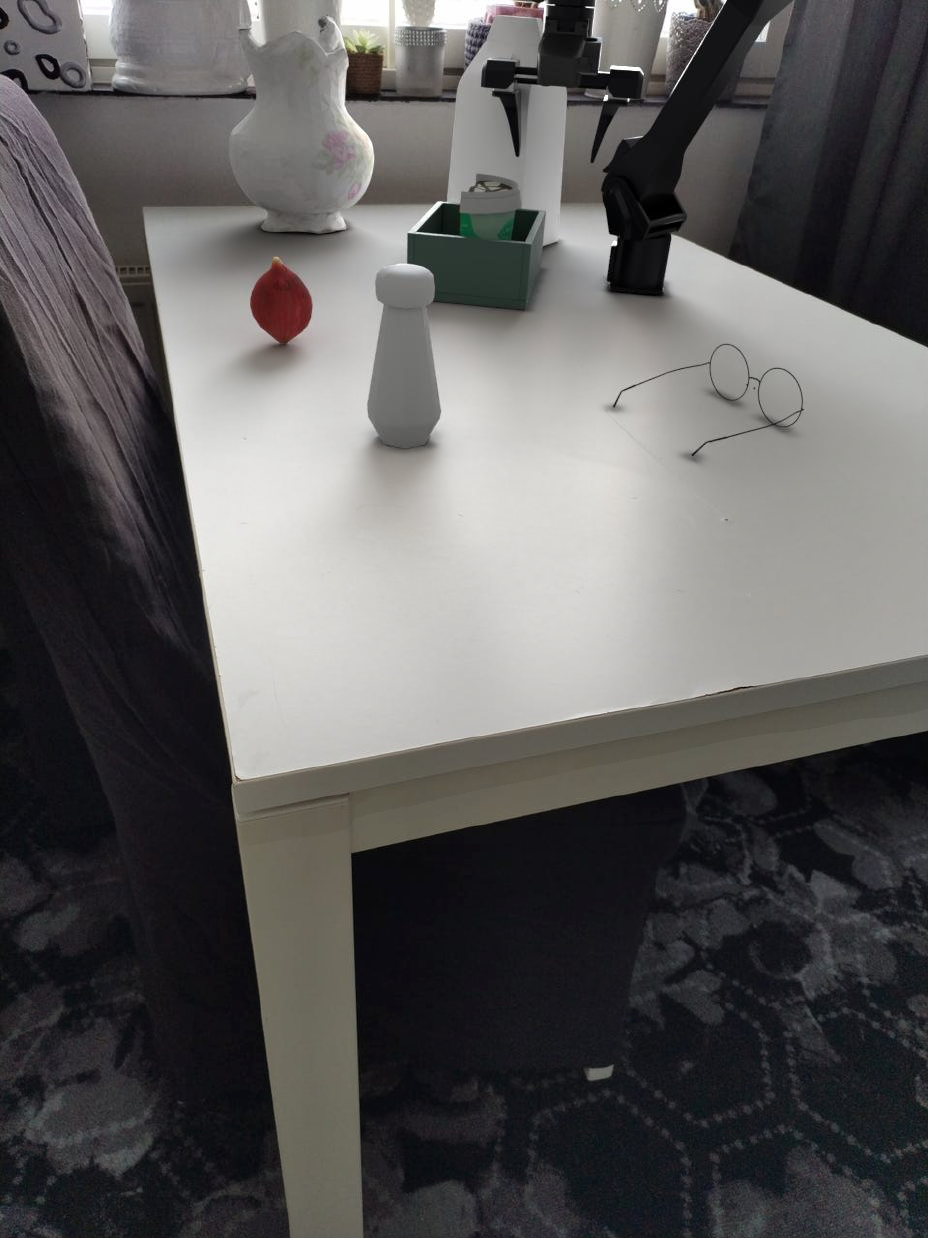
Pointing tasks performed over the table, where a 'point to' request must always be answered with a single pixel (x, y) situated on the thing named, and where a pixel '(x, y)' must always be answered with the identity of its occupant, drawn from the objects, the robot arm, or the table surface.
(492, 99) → the milk
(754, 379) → the eyeglasses
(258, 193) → the ceramic pitcher
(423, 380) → the salt shaker
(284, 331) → the onion
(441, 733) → the table surface
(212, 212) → the table surface
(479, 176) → the food container
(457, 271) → the green open box
